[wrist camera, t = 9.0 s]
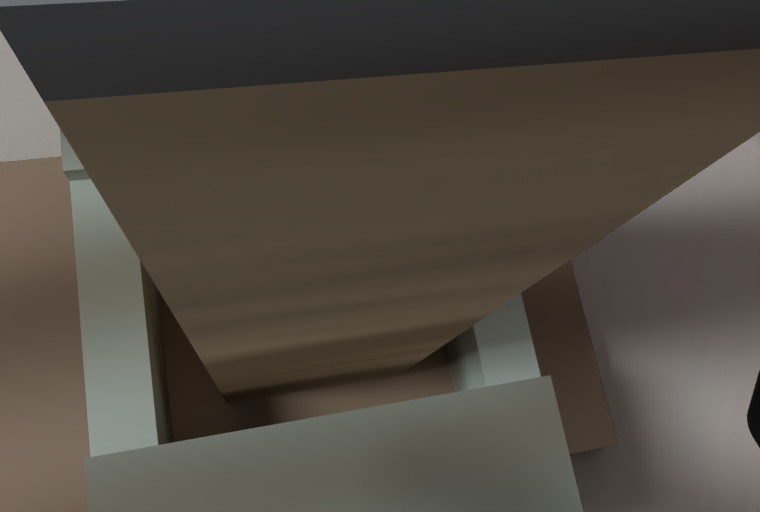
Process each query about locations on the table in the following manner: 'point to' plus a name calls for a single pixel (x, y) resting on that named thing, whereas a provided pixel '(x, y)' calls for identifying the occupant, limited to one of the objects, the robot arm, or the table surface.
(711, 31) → the rail post
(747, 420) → the robot arm
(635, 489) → the table surface
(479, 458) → the socket
